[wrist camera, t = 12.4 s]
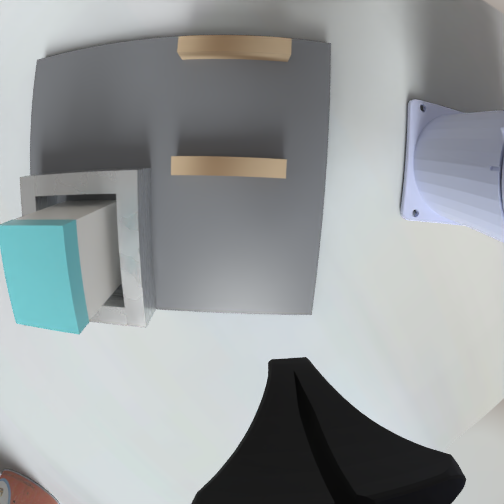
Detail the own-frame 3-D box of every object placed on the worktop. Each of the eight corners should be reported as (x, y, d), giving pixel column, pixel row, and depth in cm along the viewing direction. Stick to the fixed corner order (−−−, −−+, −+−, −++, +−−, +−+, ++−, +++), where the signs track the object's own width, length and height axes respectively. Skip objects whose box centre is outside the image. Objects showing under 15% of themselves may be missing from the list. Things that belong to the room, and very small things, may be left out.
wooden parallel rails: (288, 46, 16) (291, 38, 14) (282, 176, 18) (285, 178, 17) (183, 44, 16) (178, 36, 14) (176, 173, 18) (170, 175, 16)
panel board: (326, 48, 17) (330, 43, 16) (308, 307, 22) (311, 314, 21) (44, 62, 16) (37, 60, 15) (51, 292, 21) (44, 298, 20)
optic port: (151, 167, 18) (137, 169, 15) (156, 308, 20) (146, 327, 18) (41, 173, 17) (19, 177, 15) (55, 298, 20) (38, 314, 18)
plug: (121, 199, 18) (62, 225, 12) (126, 278, 20) (79, 334, 13) (66, 200, 18) (-3, 225, 11) (73, 274, 20) (16, 323, 13)
